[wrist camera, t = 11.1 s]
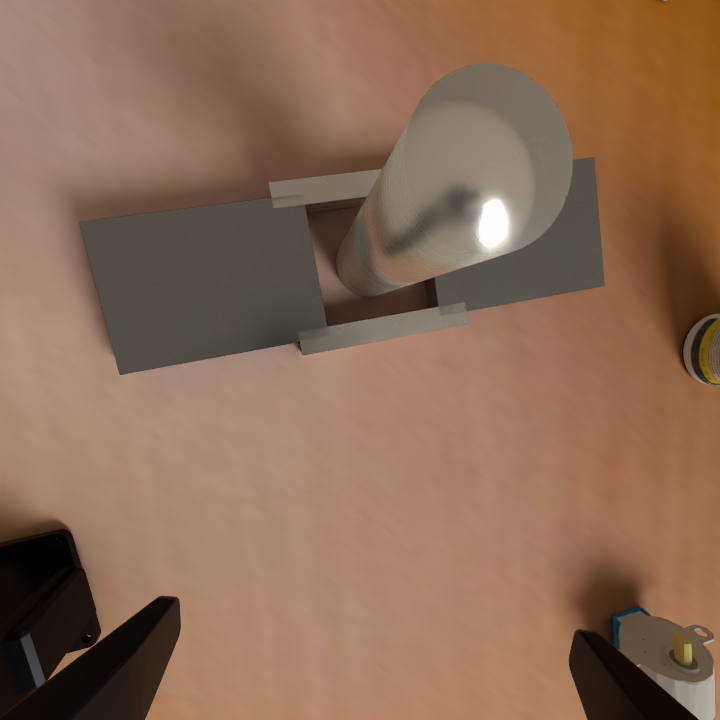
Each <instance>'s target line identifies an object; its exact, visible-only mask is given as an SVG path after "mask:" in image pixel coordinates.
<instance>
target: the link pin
mask: <svg viewBox="0 0 720 720" xmlns="http://www.w3.org/2000/svg"><path fill="white" fill-rule="evenodd" d="M572 168H573V156H572V146H571V140H570V136H569V132H568V129H567V125H566V123H565V121H564V118H563V116H562V114H561V112H560V110H559V108H558V107H557V105H556V103H555V102H554V101H553V99H552V98H551V96H550V95H549V94H548V93H547V92H546V91H545V90H544V89H543V87H542V86H540V85H539V84H538V83H537V82H536V81H534V80H533V79H532V78H530V77H529V76H527V75H525V74H524V73H522V72H520V71H518V70H515V69H513V68H510V67H507V66H503V65H498V64H490V63H489V64H475V65H469V66H465V67H462V68H460V69H457V70H455V71H453V72H451V73H449V74H447V75H445V76H444V77H443V78H441V79H440V80H439V81H437V82H436V83H435V84H434V85H433V86H432V87H431V88H430V89H429V90H428V91H427V92H426V94H425V95H424V96H423V98H422V99H421V100H420V102H419V104H418V106H417V107H416V109H415V111H414V113H413V115H412V116H411V118H410V120H409V122H408V124H407V125H406V127H405V129H404V131H403V133H402V135H401V136H400V138H399V140H398V142H397V144H396V145H395V147H394V149H393V151H392V153H391V155H390V156H389V158H388V160H387V162H386V164H385V165H384V167H383V169H382V171H381V173H380V175H379V176H378V178H377V180H376V182H375V184H374V185H373V187H372V189H371V191H370V193H369V195H368V196H367V198H366V200H365V202H364V204H363V205H362V207H361V209H360V211H359V213H358V215H357V216H356V218H355V220H354V222H353V224H352V225H351V227H350V229H349V231H348V233H347V234H346V236H345V238H344V240H343V242H342V244H341V245H340V247H339V250H338V252H337V256H336V269H337V273H338V275H339V278H340V280H341V281H342V283H343V284H344V285H345V286H346V287H347V288H348V289H349V290H350V291H352V292H353V293H355V294H357V295H360V296H365V297H373V296H378V295H381V294H384V293H387V292H390V291H393V290H396V289H399V288H402V287H406V286H409V285H412V284H415V283H418V282H421V281H424V280H427V279H430V278H433V277H436V276H439V275H443V274H446V273H449V272H452V271H455V270H458V269H461V268H464V267H467V266H470V265H473V264H476V263H480V262H483V261H486V260H489V259H492V258H495V257H498V256H501V255H504V254H507V253H510V252H513V251H516V250H518V249H521V248H523V247H525V246H527V245H529V244H530V243H532V242H534V241H535V240H536V239H537V238H539V237H540V236H541V235H542V234H543V233H544V232H545V231H546V230H547V229H548V228H549V227H550V226H551V225H552V223H553V222H554V221H555V219H556V218H557V216H558V215H559V213H560V211H561V209H562V207H563V205H564V203H565V200H566V198H567V195H568V191H569V188H570V184H571V178H572Z"/></svg>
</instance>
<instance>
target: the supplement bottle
mask: <svg viewBox="0 0 720 720" xmlns="http://www.w3.org/2000/svg"><path fill="white" fill-rule="evenodd" d="M683 356H684V362H685V365H686V368H687V370H688V372H689V373H690V375H691V376H692V377H693V378H694V379H696V380H697V381H699V382H701V383H704V384H708V385H713V386H720V313H719V314H712V315H709V316H707V317H705V318H703V319H702V320H700V321H699V322H698V323H696V324H695V325H694V326H693V327H692V329H691V330H690V332H689V333H688V335H687V338H686V340H685V344H684V349H683Z"/></svg>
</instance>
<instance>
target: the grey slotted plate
mask: <svg viewBox="0 0 720 720" xmlns="http://www.w3.org/2000/svg"><path fill="white" fill-rule="evenodd" d="M381 171H382V169H377V170H368V171H360V172H352V173H343V174H335V175H326V176H318V177H310V178H301V179H293V180H284V181H276V182H269V187H270V192H271V197H272V198H265V199H257V200H249V201H241V202H233V203H225V204H217V205H209V206H201V207H193V208H185V209H177V210H169V211H161V212H153V213H145V214H137V215H129V216H121V217H113V218H105V219H97V220H89V221H81V222H79V224H80V228H81V232H82V236H83V239H84V243H85V247H86V251H87V254H88V258H89V262H90V266H91V269H92V273H93V277H94V281H95V284H96V288H97V292H98V296H99V299H100V303H101V307H102V311H103V314H104V318H105V322H106V326H107V329H108V333H109V337H110V341H111V344H112V348H113V352H114V356H115V359H116V363H117V367H118V371H119V374H120V375H122V374H128V373H133V372H139V371H144V370H149V369H155V368H160V367H166V366H171V365H177V364H182V363H188V362H193V361H198V360H204V359H209V358H215V357H220V356H226V355H231V354H237V353H242V352H248V351H253V350H258V349H264V348H269V347H275V346H280V345H286V344H291V343H297V342H300V345H301V350H302V355H308V354H313V353H318V352H324V351H329V350H334V349H340V348H345V347H350V346H355V345H361V344H366V343H371V342H377V341H382V340H387V339H393V338H398V337H403V336H408V335H414V334H419V333H424V332H430V331H435V330H440V329H445V328H451V327H456V326H461V325H467V324H468V320H467V312H466V311H471V310H476V309H482V308H487V307H493V306H498V305H504V304H509V303H515V302H520V301H525V300H531V299H536V298H542V297H547V296H553V295H558V294H564V293H569V292H574V291H580V290H585V289H591V288H596V287H602V286H605V284H604V272H603V260H602V247H601V235H600V223H599V210H598V198H597V186H596V173H595V161H594V157H592V158H584V159H576V160H573V168H572V178H571V184H570V188H569V191H568V195H567V198H566V200H565V203H564V205H563V207H562V209H561V211H560V213H559V215H558V216H557V218H556V219H555V221H554V222H553V223H552V225H551V226H550V227H549V228H548V229H547V230H546V231H545V232H544V233H543V234H542V235H541V236H540V237H539V238H537V239H536V240H535V241H534V242H532V243H530V244H529V245H527V246H525V247H523V248H521V249H518V250H516V251H513V252H510V253H507V254H504V255H501V256H498V257H495V258H492V259H489V260H486V261H483V262H480V263H476V264H473V265H470V266H467V267H464V268H461V269H458V270H455V271H452V272H449V273H446V274H443V275H439V276H436V277H433V278H430V279H427V280H425V285H426V291H427V298H428V305H429V308H425V309H419V310H414V311H408V312H403V313H397V314H391V315H386V316H380V317H375V318H369V319H364V320H358V321H352V322H347V323H341V324H336V325H330V326H327V322H326V316H325V311H324V305H323V300H322V295H321V289H320V284H319V278H318V273H317V268H316V262H315V257H314V251H313V246H312V241H311V235H310V230H309V224H308V219H307V214H306V213H311V212H319V211H326V210H334V209H341V208H349V207H356V206H362V205H363V204H364V202H365V200H366V198H367V196H368V195H369V193H370V191H371V189H372V187H373V185H374V184H375V182H376V180H377V178H378V176H379V175H380V173H381Z"/></svg>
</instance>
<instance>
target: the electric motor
mask: <svg viewBox="0 0 720 720" xmlns="http://www.w3.org/2000/svg"><path fill="white" fill-rule="evenodd" d="M612 620H613V635H614V647H616V648H617V649H618V650H619V651H620V652H621V653H623V654H624V655H625V656H626V657H627V658H628V659H630V660H631V661H632V662H633V663H634V664H635V665H637V666H638V667H639V668H640V669H641V670H642V671H643V672H645V673H646V674H647V675H648V676H649V677H650V678H652V679H653V680H654V681H655V682H656V683H657V684H659V685H660V686H661V687H662V688H663V689H664V690H665V691H667V692H668V693H669V694H670V695H671V696H672V697H674V698H675V699H676V700H677V701H678V702H679V703H681V704H682V705H683V706H684V707H685V708H686V709H688V710H689V711H690V712H691V713H692V714H693V715H694V716H696V717H697V718H698V719H699V720H713V719H714V717H715V681H714V660H713V658H712V656H711V654H710V651H709V650H708V649H707V648H706V647H705V646H704V645H705V644H708V643H710V642H712V641H714V635H713V633H712V632H711V631H709V630H708V629H707V628H705V627H702V626H698V625H692V626H689V627H686V628H683V627H682V626H680V625H678V624H675V623H673V622H671V621H669V620H667V619H663V618H660V617H654V616H650V614H649V613H648V612H646V611H645V610H644V609H643V608H640V607H637V608H634V609H631V610H627V611H624V612H621V613H618V614H614V615H613V616H612ZM696 630H702V631H703V632H705V633H707V635H708V636H707V637H704V636H701V635H698V634H697V633H696Z"/></svg>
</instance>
